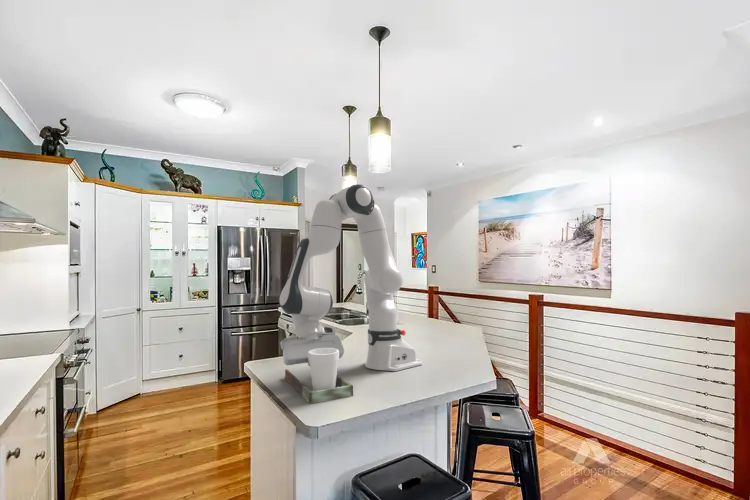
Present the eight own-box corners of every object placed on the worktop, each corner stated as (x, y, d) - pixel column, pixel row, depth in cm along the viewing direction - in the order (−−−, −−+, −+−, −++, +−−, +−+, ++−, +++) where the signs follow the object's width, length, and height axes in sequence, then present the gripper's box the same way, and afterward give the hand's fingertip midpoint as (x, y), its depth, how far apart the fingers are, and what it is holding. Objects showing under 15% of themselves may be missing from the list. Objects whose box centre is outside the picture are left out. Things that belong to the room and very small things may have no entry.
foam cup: (341, 397, 112) (340, 353, 113) (309, 400, 110) (309, 355, 110) (336, 387, 121) (336, 347, 122) (307, 390, 119) (307, 348, 120)
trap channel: (321, 372, 139) (321, 364, 139) (353, 395, 114) (353, 385, 114) (285, 378, 132) (285, 369, 132) (309, 403, 107) (309, 393, 108)
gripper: (280, 333, 123) (288, 371, 114) (339, 328, 132) (350, 362, 123) (277, 344, 127) (284, 381, 118) (334, 338, 136) (345, 372, 127)
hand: (319, 371), depth 121 cm, fingers closed, pressing on foam cup
